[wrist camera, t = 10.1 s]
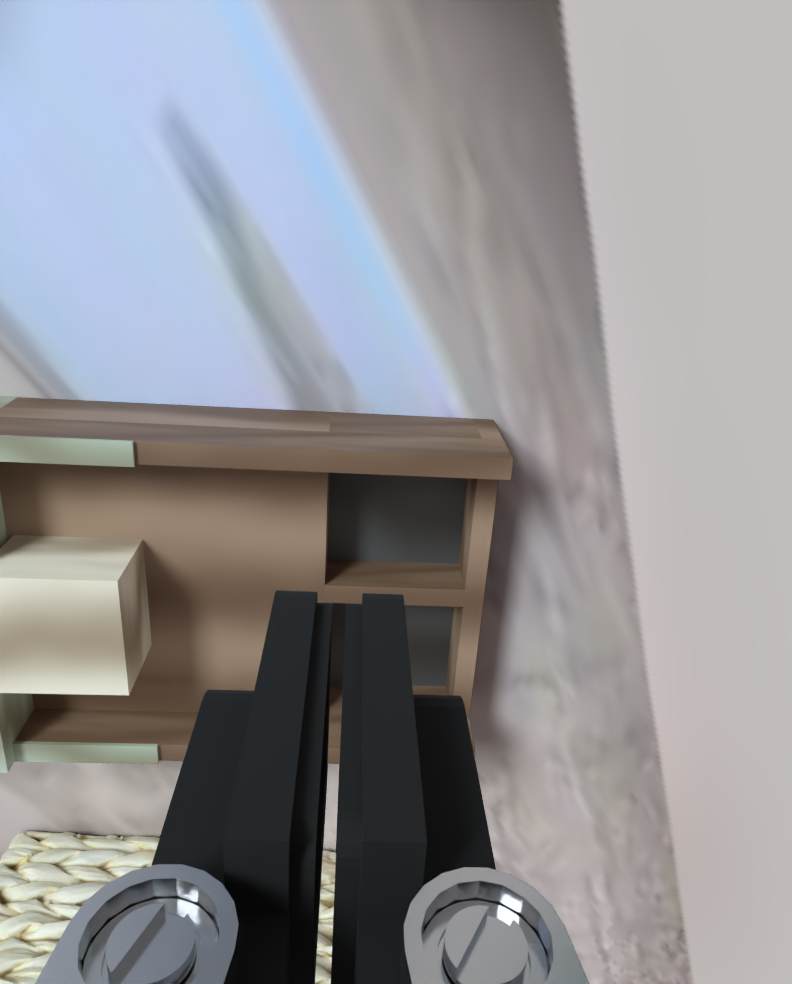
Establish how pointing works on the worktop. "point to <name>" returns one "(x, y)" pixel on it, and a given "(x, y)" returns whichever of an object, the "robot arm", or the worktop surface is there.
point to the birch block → (72, 615)
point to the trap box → (248, 547)
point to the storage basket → (89, 894)
